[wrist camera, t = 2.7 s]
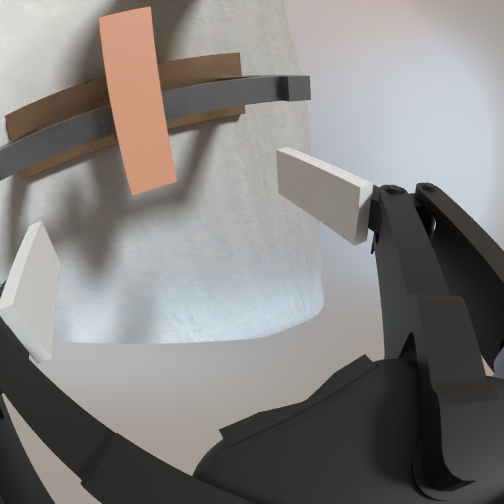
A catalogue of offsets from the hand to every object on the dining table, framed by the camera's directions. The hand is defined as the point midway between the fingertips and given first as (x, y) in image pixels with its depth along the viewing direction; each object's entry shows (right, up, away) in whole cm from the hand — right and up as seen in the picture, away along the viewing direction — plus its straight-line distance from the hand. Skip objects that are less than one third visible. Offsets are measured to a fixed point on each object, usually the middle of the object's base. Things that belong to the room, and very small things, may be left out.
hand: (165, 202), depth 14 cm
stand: (-10, +14, +14) cm, 22 cm away
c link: (-7, +12, +9) cm, 17 cm away
